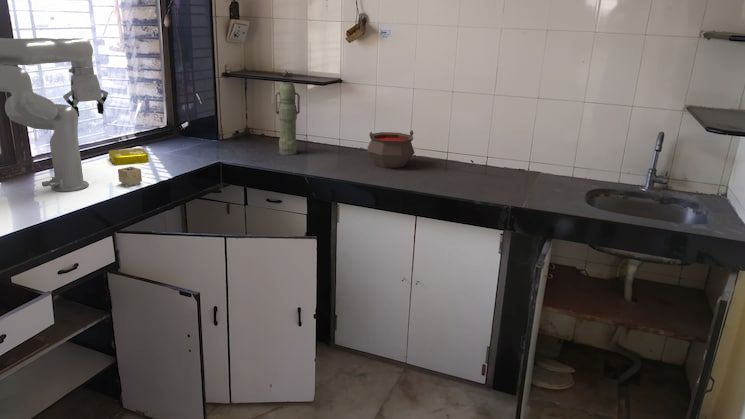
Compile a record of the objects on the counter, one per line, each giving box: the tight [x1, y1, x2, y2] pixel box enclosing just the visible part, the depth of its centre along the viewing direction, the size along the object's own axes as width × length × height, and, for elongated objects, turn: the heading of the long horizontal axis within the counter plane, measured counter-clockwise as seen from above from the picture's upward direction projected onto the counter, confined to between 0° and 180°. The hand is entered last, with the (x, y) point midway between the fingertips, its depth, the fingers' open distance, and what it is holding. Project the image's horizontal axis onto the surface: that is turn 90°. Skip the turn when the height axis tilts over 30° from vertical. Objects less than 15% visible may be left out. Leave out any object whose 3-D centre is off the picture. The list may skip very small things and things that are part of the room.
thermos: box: [274, 81, 301, 156], centre depth 278 cm, size 9×12×35 cm
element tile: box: [108, 147, 150, 166], centre depth 257 cm, size 15×15×5 cm
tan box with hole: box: [117, 166, 143, 184], centre depth 222 cm, size 6×6×5 cm
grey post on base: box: [120, 167, 141, 187], centre depth 222 cm, size 5×5×6 cm
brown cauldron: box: [367, 129, 416, 169], centre depth 267 cm, size 24×24×16 cm
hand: (88, 114), depth 225 cm, fingers open, 9 cm apart
